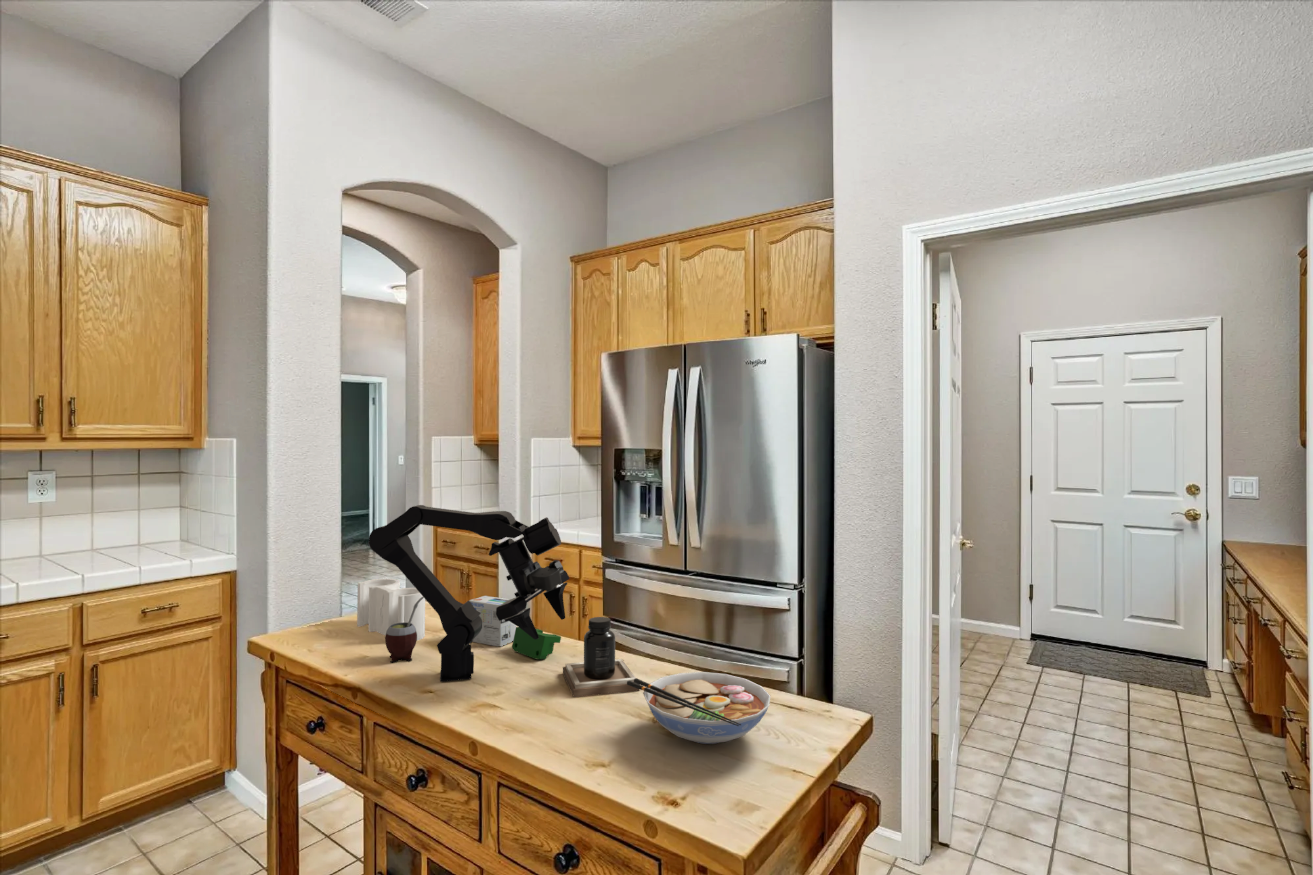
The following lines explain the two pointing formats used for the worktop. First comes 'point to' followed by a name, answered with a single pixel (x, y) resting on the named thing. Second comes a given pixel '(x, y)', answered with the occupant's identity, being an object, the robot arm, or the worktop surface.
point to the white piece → (389, 606)
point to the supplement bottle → (599, 649)
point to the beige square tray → (598, 680)
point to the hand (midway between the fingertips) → (550, 628)
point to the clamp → (534, 643)
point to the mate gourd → (401, 639)
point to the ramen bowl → (705, 705)
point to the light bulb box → (492, 622)
